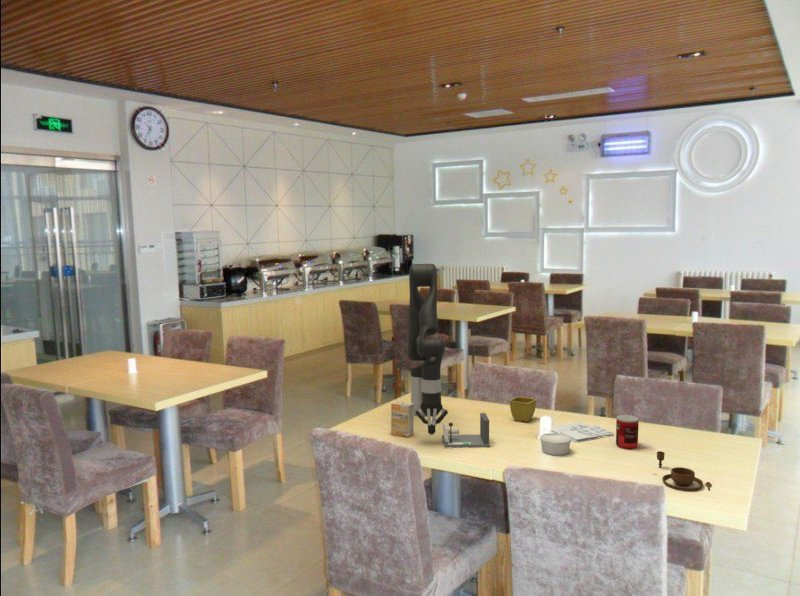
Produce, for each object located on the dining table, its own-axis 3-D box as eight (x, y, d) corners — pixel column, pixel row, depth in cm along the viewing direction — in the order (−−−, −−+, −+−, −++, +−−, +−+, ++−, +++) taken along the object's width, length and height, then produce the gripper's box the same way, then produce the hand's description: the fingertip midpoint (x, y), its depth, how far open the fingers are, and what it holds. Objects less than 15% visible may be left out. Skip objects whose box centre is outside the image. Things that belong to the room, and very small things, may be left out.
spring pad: (443, 434, 254) (443, 422, 253) (457, 434, 254) (457, 422, 253) (445, 443, 244) (445, 430, 244) (460, 442, 244) (460, 429, 244)
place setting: (651, 488, 205) (651, 470, 205) (654, 467, 223) (654, 450, 223) (712, 497, 198) (713, 478, 198) (710, 474, 216) (711, 457, 216)
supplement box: (390, 435, 260) (390, 403, 258) (396, 431, 264) (395, 400, 262) (408, 437, 256) (408, 405, 254) (414, 434, 260) (414, 402, 259)
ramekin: (563, 445, 245) (563, 431, 245) (576, 455, 234) (576, 441, 234) (535, 447, 243) (535, 433, 243) (546, 457, 232) (547, 443, 232)
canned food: (621, 441, 249) (622, 413, 248) (641, 446, 243) (642, 417, 242) (611, 446, 243) (612, 417, 242) (632, 451, 238) (633, 422, 237)
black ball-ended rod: (448, 441, 245) (448, 421, 245) (452, 441, 245) (452, 421, 245) (448, 443, 244) (448, 423, 243) (453, 443, 244) (453, 423, 243)
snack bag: (575, 444, 248) (576, 438, 248) (543, 429, 266) (543, 424, 266) (614, 437, 256) (614, 431, 255) (580, 423, 274) (580, 418, 274)
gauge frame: (442, 437, 256) (441, 412, 254) (484, 436, 256) (484, 412, 255) (444, 447, 244) (444, 422, 243) (489, 447, 244) (489, 421, 243)
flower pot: (518, 416, 284) (518, 396, 283) (536, 419, 278) (536, 398, 278) (508, 421, 276) (509, 400, 276) (527, 424, 271) (528, 403, 270)
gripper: (447, 387, 251) (448, 430, 253) (413, 387, 251) (414, 431, 253) (449, 392, 244) (449, 436, 245) (414, 392, 243) (414, 437, 245)
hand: (431, 434), depth 249 cm, fingers closed
